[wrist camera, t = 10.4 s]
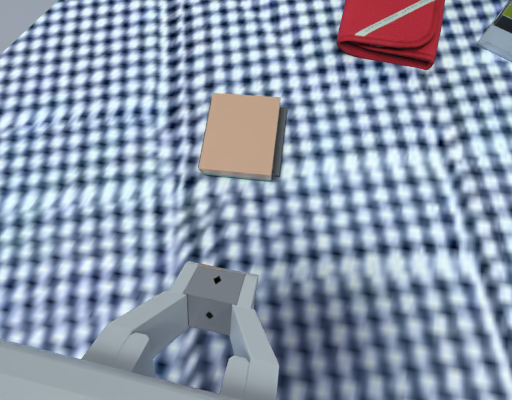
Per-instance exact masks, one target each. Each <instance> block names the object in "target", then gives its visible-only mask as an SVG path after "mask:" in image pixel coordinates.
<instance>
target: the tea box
mask: <svg viewBox="0 0 512 400" xmlns="http://www.w3.org/2000/svg"><path fill="white" fill-rule="evenodd" d="M477 45H479V46H481V47H483V48H485V49H487V50H489V51H491V52H493V53H495V54H497V55H499V56H501V57H503V58H505V59H507V60H509V61H511V62H512V0H509V2H508V3H507V4H506V5H505V7H504V8H503V9H502V11H501V12H500V13H499V15H498V16H497V17H496V18H495V20H494V21H493V22H492V24H491V25H490V26H489V28H488V29H487V30H486V32H485V33H484V34H483V36H482V37H481V38H480V40H479V41H478V42H477Z"/></svg>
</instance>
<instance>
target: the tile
mask: <svg viewBox="0 0 512 400" xmlns="http://www.w3.org/2000/svg"><path fill="white" fill-rule="evenodd" d="M279 113H280V97H265V96H249V95H234V94H218V93H213V96H212V102H211V107H210V112H209V117H208V122H207V128H206V133H205V138H204V143H203V148H202V153H201V159H200V164H199V170H200V171H201V172H202V174H203V175H213V176H223V177H233V178H244V179H254V180H264V181H271V180H272V172H273V163H274V155H275V147H276V138H277V130H278V121H279Z"/></svg>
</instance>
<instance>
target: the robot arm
mask: <svg viewBox="0 0 512 400" xmlns="http://www.w3.org/2000/svg"><path fill="white" fill-rule="evenodd" d="M257 283H258V275H254V274H249V273H244V272H239V271H234V270H228V269H222V268H218V267H213V266H209V265H205V264H199V263H195V262H191V261H188V262H187V263H186V264H185V265H184V267H183V269H182V270H181V272H180V274H179V276H178V277H177V279H176V281H175V282H174V284H173V286H172V287H171V289H170V291H167V290H165V291H164V292H162V293H160V294H159V295H157V296H155V297H153V298H152V299H150V300H148V301H147V302H145V303H143V304H141V305H140V306H138V307H136V308H135V309H133V310H131V311H129V312H128V313H126V314H124V315H123V316H121V317H119V318H117V319H116V320H114V321H112V322H111V323H109V324H107V326H106V327H105V328H104V330H103V331H102V332H101V334H100V335H99V336H98V338H97V339H96V340H95V342H94V343H93V344H92V346H91V347H90V348H89V350H88V351H87V352H86V354H85V355H84V356H83V358H82V359H78V358H74V357H70V356H66V355H62V354H58V353H54V352H50V351H46V350H42V349H38V348H34V347H30V346H26V345H22V344H18V343H14V342H10V341H6V340H2V339H0V400H276V395H277V384H278V373H279V364H278V361H277V359H276V357H275V355H274V352H273V350H272V348H271V345H270V343H269V341H268V339H267V336H266V334H265V332H264V329H263V327H262V325H261V323H260V320H259V318H258V316H257V313H256V311H255V309H254V303H255V297H256V290H257ZM188 326H189V327H194V328H199V329H204V330H209V331H213V332H217V333H221V334H225V335H229V336H230V340H231V343H232V347H233V351H234V355H235V356H232V357H231V358H229V361H228V364H227V368H226V372H225V375H224V379H223V383H222V386H221V390H220V393H219V394H217V393H213V392H209V391H205V390H201V389H197V388H193V387H189V386H185V385H181V384H177V383H173V382H169V381H165V380H161V379H157V378H155V372H154V366H153V360H152V359H153V358H154V357H155V356H156V355H158V354H159V353H160V352H161V351H162V350H163V349H164V348H166V347H167V346H168V345H169V344H170V343H171V342H172V341H174V340H175V339H176V338H177V337H178V336H179V335H180V334H182V333H183V332H184V331H185V330H186V329H187V328H188Z"/></svg>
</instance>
